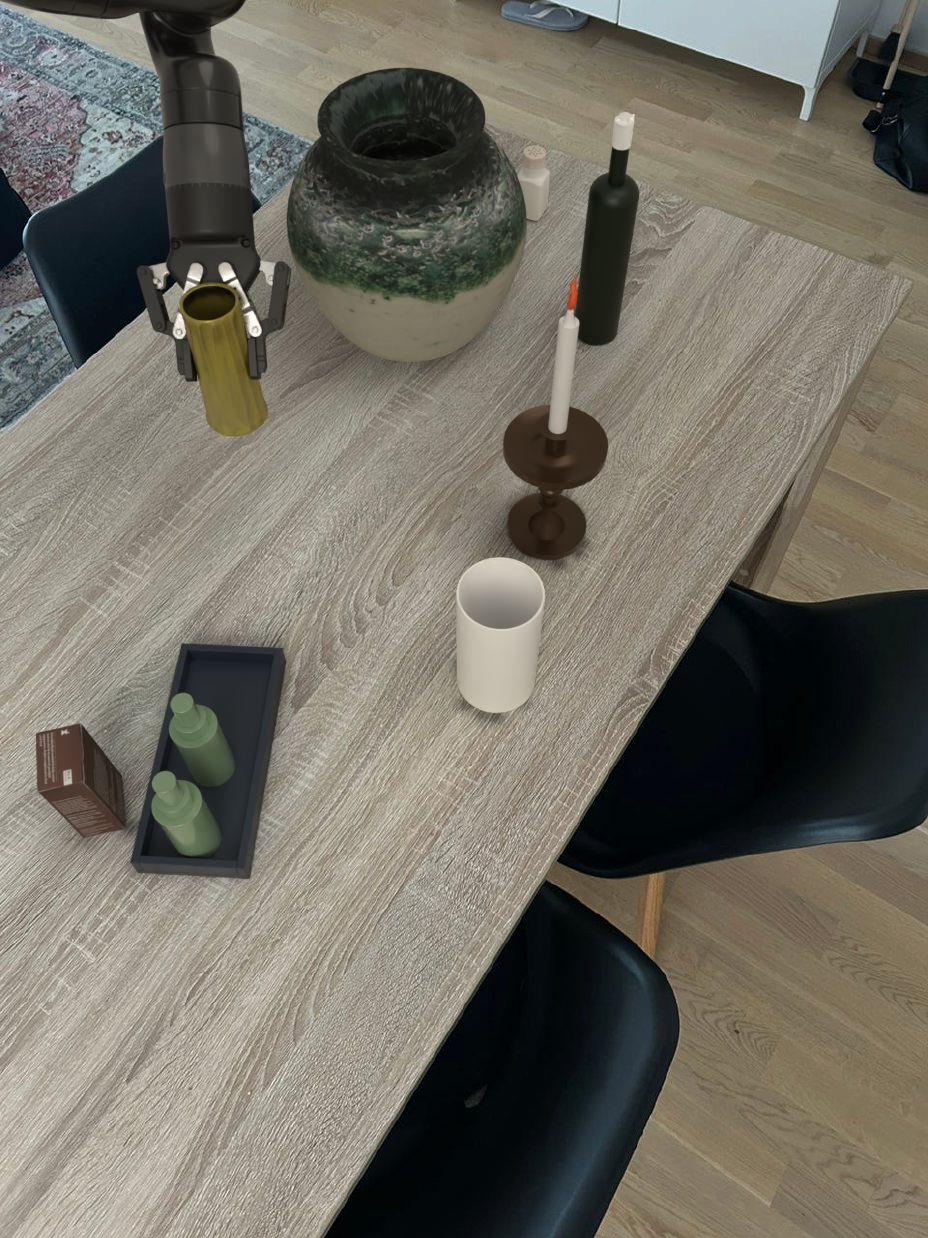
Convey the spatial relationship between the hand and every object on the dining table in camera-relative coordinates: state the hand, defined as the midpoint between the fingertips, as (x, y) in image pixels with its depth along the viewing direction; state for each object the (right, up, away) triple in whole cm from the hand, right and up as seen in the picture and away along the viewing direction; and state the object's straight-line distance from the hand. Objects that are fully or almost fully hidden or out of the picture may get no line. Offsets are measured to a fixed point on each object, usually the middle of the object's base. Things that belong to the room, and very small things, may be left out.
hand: (223, 379), depth 97 cm
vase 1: (0, -2, +7) cm, 7 cm away
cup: (+26, -29, +12) cm, 40 cm away
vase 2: (+16, +16, +40) cm, 46 cm away
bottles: (-3, -40, +4) cm, 40 cm away
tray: (-2, -37, +7) cm, 37 cm away
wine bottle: (+40, +16, +40) cm, 59 cm away
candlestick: (+32, -12, +23) cm, 41 cm away
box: (-13, -41, +4) cm, 43 cm away
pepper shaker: (+32, +36, +53) cm, 72 cm away
